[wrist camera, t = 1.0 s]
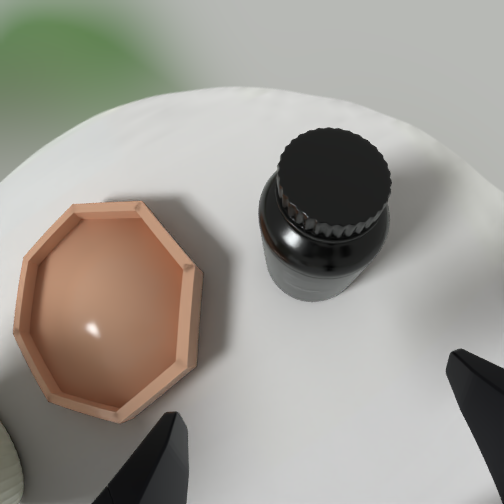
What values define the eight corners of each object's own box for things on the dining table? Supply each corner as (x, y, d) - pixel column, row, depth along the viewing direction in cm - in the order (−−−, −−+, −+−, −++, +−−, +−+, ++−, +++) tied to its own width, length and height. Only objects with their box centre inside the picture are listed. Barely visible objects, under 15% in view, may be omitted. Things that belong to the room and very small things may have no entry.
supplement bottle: (373, 257, 23) (443, 181, 12) (311, 322, 22) (344, 297, 11) (309, 197, 25) (326, 89, 13) (246, 255, 24) (215, 172, 13)
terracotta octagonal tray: (247, 322, 23) (243, 319, 20) (98, 446, 20) (82, 453, 18) (125, 179, 27) (114, 165, 25) (12, 296, 25) (-5, 291, 22)
